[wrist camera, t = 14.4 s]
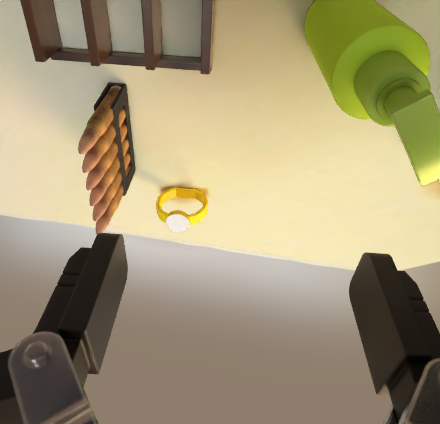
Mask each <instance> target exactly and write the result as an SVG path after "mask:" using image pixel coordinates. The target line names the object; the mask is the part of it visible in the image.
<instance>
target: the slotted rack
mask: <svg viewBox="0 0 440 424" xmlns="http://www.w3.org/2000/svg"><path fill="white" fill-rule="evenodd" d="M20 1H21V5H22V8H23V12H24V16H25V20H26V24H27V28H28V32H29V36H30V40H31V44H32V48H33V52H34V56H35V60H36V61H37V62H45V61H47V60H48V59H49V58H50V57H51V59H52V60H65V61H78V62H91V65H92V66H100V65H101V64H102V63H105V64H118V65H131V66H145V67H146V69H147V70H155V68H156V67H158V68H171V69H185V70H198V71H201V74H210V71H211V69H212V53H213V31H214V9H215V0H202V38H201V58H189V57H175V56H162V35H161V9H160V0H141V5H142V19H143V34H144V49H145V54H136V53H122V52H112V45H111V37H110V29H109V21H108V12H107V4H106V0H81V7H82V13H83V19H84V25H85V31H86V37H87V44H88V50H83V49H69V48H62V44H61V40H60V35H59V30H58V25H57V20H56V15H55V10H54V5H53V0H20Z"/></svg>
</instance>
